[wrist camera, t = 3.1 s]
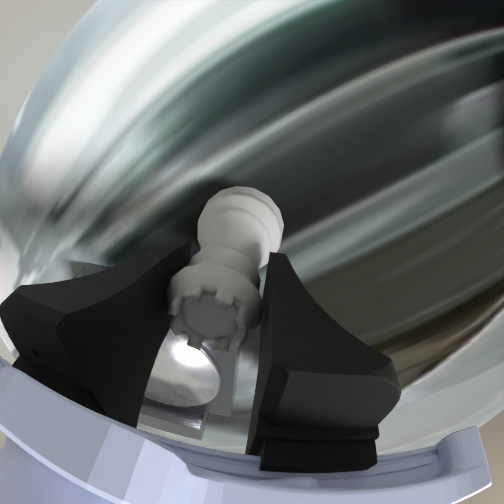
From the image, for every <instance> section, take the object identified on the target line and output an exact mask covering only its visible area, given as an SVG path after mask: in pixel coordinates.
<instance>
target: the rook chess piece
mask: <svg viewBox="0 0 504 504" xmlns="http://www.w3.org/2000/svg"><path fill="white" fill-rule="evenodd" d="M283 226H284V224H283V221H282V217H281V213H280V210H279V208H278V207H277V206H276V205H275V203H274V202H273V201H272V200H271V198H270V197H269V196H267V195H265V194H263V193H262V192H260V191H258V190H256V189H254V188H248V187H240V186H235V187H231V188H228V189H224V190H221V191H219V192H218V193H217V194H215V195H214V196H213V197H212V198H211V199H209V200H208V202H207V204H206V206H205V207H204V209H203V211H202V213H201V216H200V218H199V220H198V241H199V244H200V247H201V250H200V252H198V253H197V254H196V255H194V256H193V257H192V258H191V260H190V262H189V264H188V266H187V267H185V268H183V269H182V270H181V271H179V272H178V273H177V274H175V275H174V276H173V277H172V279H171V281H170V283H169V286H168V288H167V290H166V291H167V301H168V306H169V310H168V312H167V313H168V314H171V315H173V317H172V319H171V321H170V323H169V326H170V328H171V329H172V331H173V333H174V334H175V336H176V335H180V334H182V333H183V330H184V331H185V332H187V333H188V334H189V335H190V336H189V339H188V342H187V344H186V345H188V346H190V347H192V348H194V349H196V350H198V351H200V349H201V346H202V343H203V342H208V343H214V345H213V351H214V354H220V353H228V352H229V347H230V343H231V342H233V344H235V345H236V346H238V347H239V348H240V347H241V346H242V344H243V343H244V342H245V341H246V340H247V336H248V334H250V333H252V332H253V331H254V330H255V329H256V327H257V326H258V325H259V324H260V322H261V321H262V316H263V310H264V305H263V302H262V299H261V296H260V293H259V288H260V281H261V280H260V277H259V274H258V270H259V268H261V267H263V266H264V265H266V264H267V263H268V260H269V253H270V252H275V253H276V252H277V250H278V249H279V248H280V243H281V239H282V233H283Z"/></svg>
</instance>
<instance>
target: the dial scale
mask: <svg viewBox="0 0 504 504" xmlns="http://www.w3.org/2000/svg"><path fill="white" fill-rule="evenodd" d="M106 269H109V268H108V267H103V266H99V265H94V264H90V263H88V264H87V265H86V266H85V267H84V268H83V269H82V270H81V271H80V272H79V273H78V274H77V275H76V276H75V277H74V278H73V279H75V278H79V277H82V276H86V275H90V274H94V273H97V272H100V271H103V270H106ZM189 336H190V335H189V334H188V333H187V332H185V331H184V330H183V333H182V334H180V335H176V336H175V334H174V333H173V331H172V329H171V328H170V329H169V331H168V333H167V335H166V337H165V339H164V341H163V343H162V345H161V347H160V349H159V352H158V355H157V358H156V360H155V363H154V366H153V369H152V372H151V375H150V378H149V381H148V384H147V387H146V391H145V395H144V398H143V402H142V406H141V409H140V414H139V418H138V423H141V424H144V425H147V426H150V427H153V428H157V429H160V430H163V431H167V432H170V433H174V434H178V435H182V436H186V437H190V438H194V439H199V440H202V436H203V432H204V428H205V424H206V420H207V416H208V413H210V414H215V415H220V416H226V417H231V412H232V407H233V401H234V396H235V390H236V381H237V372H238V363H239V354H240V348H239V347H238V346H236V345H235V344H233V342H231V343H230V347H229V352H228V353H220V354H214V351H213V345H214V343H208V342H203V343H202V346H201V349H200V351H198V350H196V349H194V348H192V347H190V346H188V345H186V344H187V342H188V339H189Z"/></svg>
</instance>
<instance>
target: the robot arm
mask: <svg viewBox="0 0 504 504" xmlns="http://www.w3.org/2000/svg"><path fill="white" fill-rule="evenodd" d="M190 260H191V250H190V240H184V239H177V238H176V239H173V240H171V241H168V242H166V243H164V244H162V245H160V246H158V247H156V248H154V249H152V250H150V251H148V252H146V253H144V254H142V255H140V256H137V257H135V258H133V259H131V260H128V261H126V262H124V263H122V264H119V265H117V266H114V267H112V268H109V269H106V270H103V271H100V272H97V273H94V274H90V275H86V276H82V277H79V278H75V279H70V280H65V281H59V282H53V283H46V284H34V285H21V286H19V287H18V288H17V289H16V290H15V291H14V292H13V293H11V294H10V295H9V296H8V297H7V298H6V299H5V300H4V301H3V302H2V303H1V305H0V317H1V321H2V323H3V325H4V328H5V330H6V331H7V333H8V335H9V337H10V339H11V341H12V342H13V344H14V346H15V347H16V349H17V351H18V352H19V354H20V356H19V357H18V358H17V360H16V361H15V362H14V364H13V365H12V364H10V363H9V362H8V361H6V360H5V359H3V358H2V357H1V356H0V430H1V431H2V432H4V433H5V434H6V435H7V436H8V437H7V439H6V441H5V443H4V445H3V446H2V448H1V450H0V504H455V503H457V502H460V501H462V500H464V499H466V498H468V497H470V496H472V495H474V494H476V493H478V492H480V491H482V490H483V489H485V488H487V487H489V486H490V485H491V484H492V481H491V476H490V472H489V467H488V463H487V458H486V455H485V451H484V447H483V444H482V440H481V437H480V433H479V430H478V427H477V426H473V427H470V428H467V429H463V430H460V431H456V432H454V433H452V434H450V435H448V436H446V437H445V438H443V439H442V440H441V441H440V442H439V443H438V444H437V445H435V446H431V447H427V448H422V449H417V450H412V451H407V452H401V453H395V454H388V455H380V456H377V453H376V445H375V440H376V439H377V438H379V429H378V424H379V423H380V422H381V421H382V420H383V419H384V418H385V417H386V416H387V415H388V414H389V413H390V412H391V410H392V409H393V408H394V407H395V405H396V404H397V402H398V401H399V400H400V396H401V389H400V385H399V382H398V377H397V374H396V371H395V368H394V365H393V363H392V360H391V358H389V357H387V356H386V355H384V354H382V353H380V352H379V351H377V350H375V349H373V348H371V347H370V346H368V345H366V344H365V343H363V342H362V341H360V340H359V339H358V338H356V337H355V336H353V335H352V334H350V333H349V332H348V331H347V330H345V329H344V328H343V327H342V326H340V325H339V324H338V323H337V322H336V321H335V320H333V319H332V318H331V317H330V316H329V315H328V314H327V313H326V312H325V311H324V310H323V309H322V308H321V307H320V306H319V305H318V303H317V302H316V301H315V300H314V299H313V298H312V297H311V295H310V294H309V292H308V291H307V290H306V288H305V287H304V285H303V284H302V282H301V281H300V279H299V278H298V276H297V274H296V273H295V271H294V269H293V267H292V265H291V263H290V261H289V259H288V257H287V256H286V254H282V253H275V252H270V253H269V260H268V267H267V273H266V280H265V286H264V292H263V299H262V302H263V305H264V310H263V316H262V321H261V322H260V344H259V367H258V375H257V382H256V389H255V396H254V402H253V409H252V415H251V422H250V428H249V434H248V440H247V446H246V452H245V454H238V453H232V452H226V451H220V450H215V449H209V448H205V447H200V446H196V445H191V444H187V443H183V442H179V441H175V440H172V439H168V438H165V437H161V436H158V435H155V434H152V433H148V432H145V431H142V430H139V429H137V428H136V427H137V423H138V418H139V414H140V409H141V406H142V402H143V398H144V395H145V391H146V387H147V384H148V381H149V378H150V375H151V372H152V369H153V366H154V363H155V360H156V358H157V355H158V352H159V349H160V347H161V345H162V343H163V341H164V339H165V337H166V335H167V333H168V331H169V329H170V326H169V323H170V321H171V319H172V317H173V315H171V314H168V313H167V312H168V310H169V306H168V301H167V291H166V290H167V288H168V286H169V283H170V281H171V279H172V277H173V276H174V275H175V274H177V273H178V272H179V271H181V270H182V269H183V268H185V267H187V266H188V264H189V262H190Z"/></svg>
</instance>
